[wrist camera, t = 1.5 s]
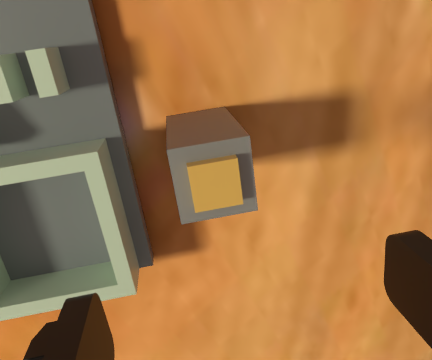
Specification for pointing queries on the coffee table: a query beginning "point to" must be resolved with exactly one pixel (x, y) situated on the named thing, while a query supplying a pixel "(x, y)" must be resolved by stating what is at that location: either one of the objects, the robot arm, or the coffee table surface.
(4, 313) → the end holder
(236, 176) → the block
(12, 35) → the board
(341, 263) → the coffee table surface
